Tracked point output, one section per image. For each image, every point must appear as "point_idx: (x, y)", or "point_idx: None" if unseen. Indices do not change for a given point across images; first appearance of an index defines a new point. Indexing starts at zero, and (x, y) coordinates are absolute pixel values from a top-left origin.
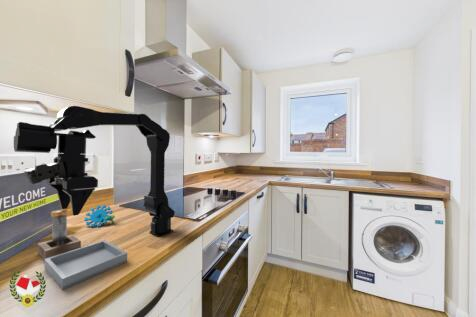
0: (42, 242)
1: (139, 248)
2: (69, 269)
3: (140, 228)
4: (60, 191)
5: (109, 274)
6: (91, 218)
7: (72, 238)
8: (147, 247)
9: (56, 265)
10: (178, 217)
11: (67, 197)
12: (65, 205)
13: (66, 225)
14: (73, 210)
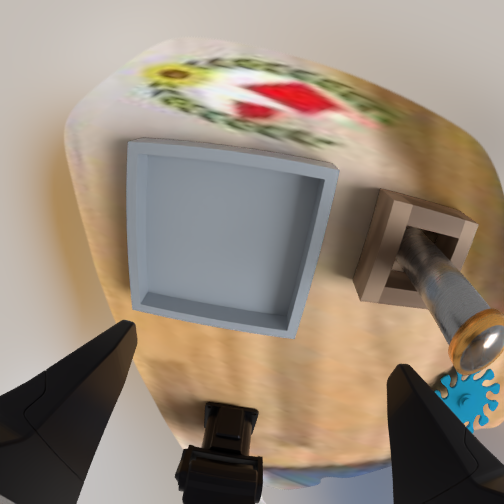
0: (472, 235)
1: (189, 350)
2: (228, 191)
3: (313, 416)
4: (454, 483)
5: (117, 235)
6: (477, 384)
7: (408, 297)
8: (176, 359)
9: (300, 184)
10: (274, 466)
11: (407, 453)
12: (395, 394)
13: (433, 317)
14: (93, 340)
